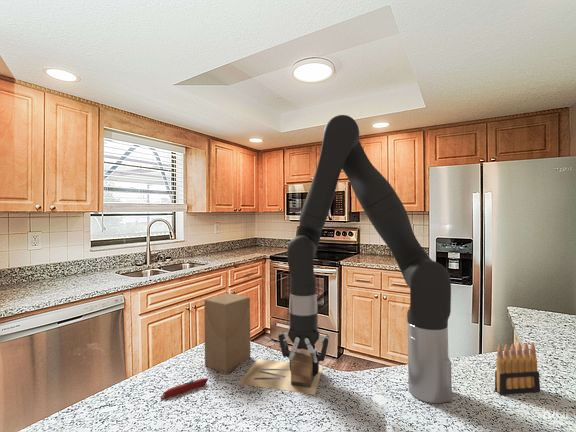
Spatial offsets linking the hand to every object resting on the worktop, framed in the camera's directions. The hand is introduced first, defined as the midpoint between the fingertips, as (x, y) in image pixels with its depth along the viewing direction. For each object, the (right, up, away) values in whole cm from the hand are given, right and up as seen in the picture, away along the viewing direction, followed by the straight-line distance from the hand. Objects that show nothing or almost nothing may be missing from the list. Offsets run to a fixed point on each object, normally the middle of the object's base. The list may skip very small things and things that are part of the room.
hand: (304, 373), depth 79 cm
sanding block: (0, -1, 0) cm, 1 cm away
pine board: (-6, -3, +2) cm, 7 cm away
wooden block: (-23, -3, +11) cm, 26 cm away
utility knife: (-31, -3, -3) cm, 31 cm away
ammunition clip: (+53, -2, -5) cm, 53 cm away
